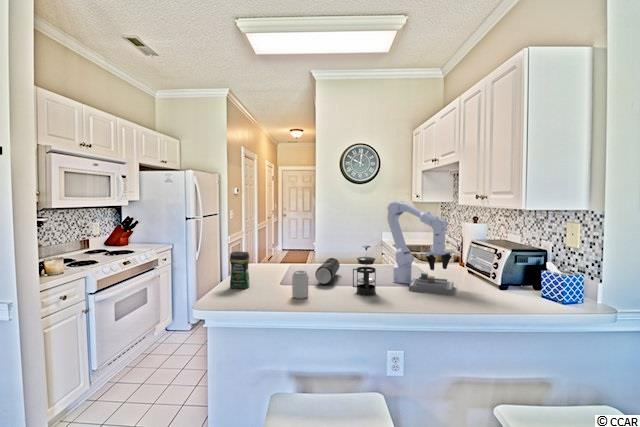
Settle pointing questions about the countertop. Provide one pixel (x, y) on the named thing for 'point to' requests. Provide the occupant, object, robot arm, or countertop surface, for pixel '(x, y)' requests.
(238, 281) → the coffee jar
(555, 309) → the countertop surface
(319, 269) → the dark thermos flask
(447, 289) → the block
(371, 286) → the french press
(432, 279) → the breaker toggle
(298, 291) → the can
